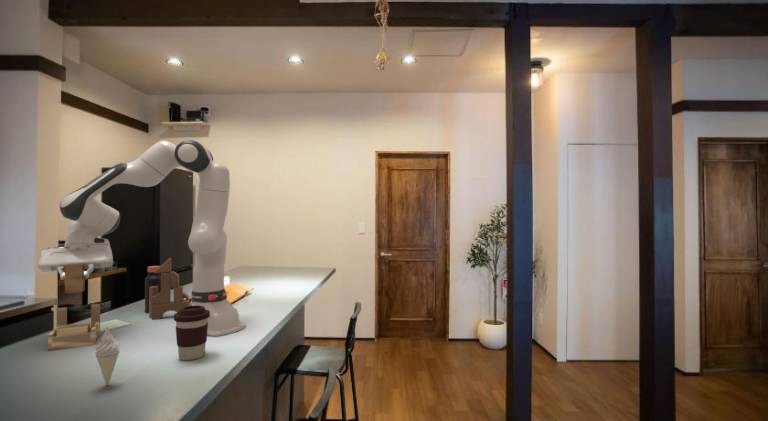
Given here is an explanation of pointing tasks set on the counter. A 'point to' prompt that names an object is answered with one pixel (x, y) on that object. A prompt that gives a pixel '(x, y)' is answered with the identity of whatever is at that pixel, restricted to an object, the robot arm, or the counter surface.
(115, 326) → the pad
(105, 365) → the ice cream cone
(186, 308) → the coffee cup
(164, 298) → the wooden toy
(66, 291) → the block
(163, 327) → the counter surface
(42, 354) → the counter surface
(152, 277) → the bottle
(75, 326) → the tan piece
